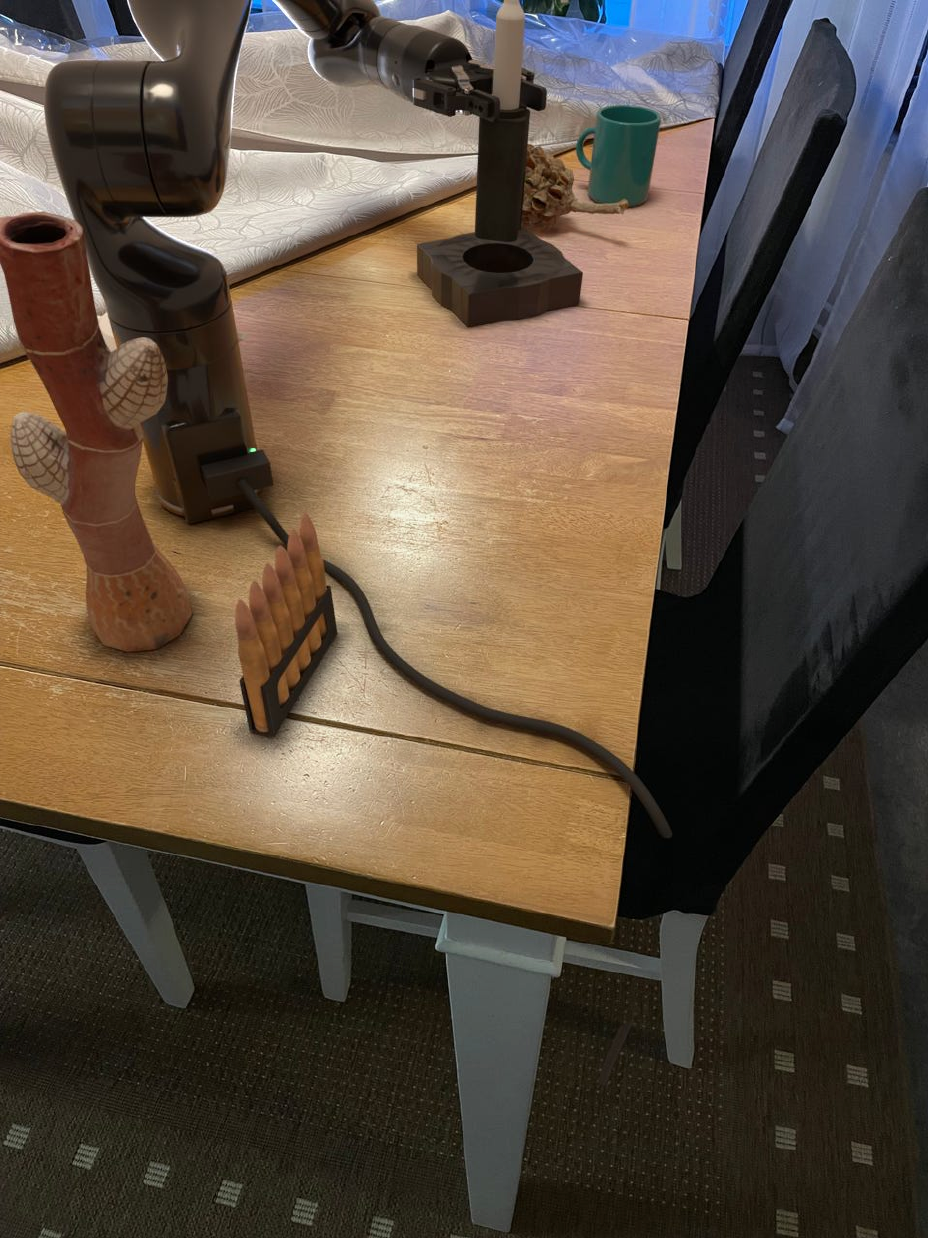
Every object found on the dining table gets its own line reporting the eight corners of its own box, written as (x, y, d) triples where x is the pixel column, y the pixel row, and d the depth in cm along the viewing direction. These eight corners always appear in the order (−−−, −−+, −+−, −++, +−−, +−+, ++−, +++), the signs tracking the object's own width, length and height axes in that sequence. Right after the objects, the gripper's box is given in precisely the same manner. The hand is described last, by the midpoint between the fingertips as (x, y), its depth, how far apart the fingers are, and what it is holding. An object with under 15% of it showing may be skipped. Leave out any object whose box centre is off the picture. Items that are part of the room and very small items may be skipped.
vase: (67, 633, 66) (-108, 227, 45) (127, 573, 71) (-4, 180, 50) (185, 675, 63) (60, 264, 42) (240, 609, 68) (152, 212, 47)
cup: (585, 178, 137) (594, 97, 129) (656, 194, 133) (670, 111, 125) (559, 195, 131) (567, 112, 123) (633, 213, 127) (646, 128, 119)
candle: (515, 243, 102) (535, -20, 84) (472, 238, 102) (482, -24, 84) (522, 225, 105) (542, -30, 87) (480, 221, 106) (492, -34, 88)
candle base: (585, 305, 106) (589, 273, 103) (465, 330, 101) (466, 296, 98) (523, 253, 116) (525, 223, 113) (411, 274, 111) (410, 242, 108)
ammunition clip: (273, 739, 60) (246, 614, 51) (248, 732, 60) (218, 607, 51) (338, 632, 67) (323, 507, 58) (315, 626, 67) (298, 501, 59)
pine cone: (467, 225, 123) (469, 148, 116) (495, 202, 129) (498, 128, 122) (617, 257, 116) (629, 177, 109) (639, 231, 122) (651, 154, 115)
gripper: (371, 37, 95) (470, 74, 86) (473, 21, 102) (574, 54, 93) (374, 114, 101) (467, 156, 92) (471, 94, 107) (566, 131, 98)
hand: (520, 105), depth 93 cm, fingers closed on candle, 6 cm apart
